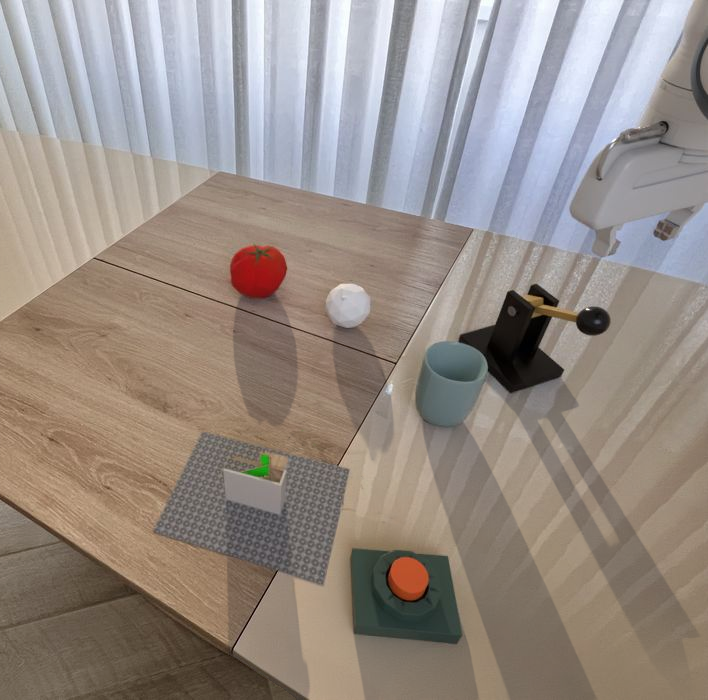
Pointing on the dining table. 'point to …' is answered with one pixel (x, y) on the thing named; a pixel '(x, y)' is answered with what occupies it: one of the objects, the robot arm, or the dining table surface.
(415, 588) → the button
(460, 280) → the dining table surface
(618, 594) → the dining table surface
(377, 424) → the dining table surface
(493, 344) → the lever base
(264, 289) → the tomato
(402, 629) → the dimmer block
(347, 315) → the ornament
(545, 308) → the lever with ball knob
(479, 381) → the cup
